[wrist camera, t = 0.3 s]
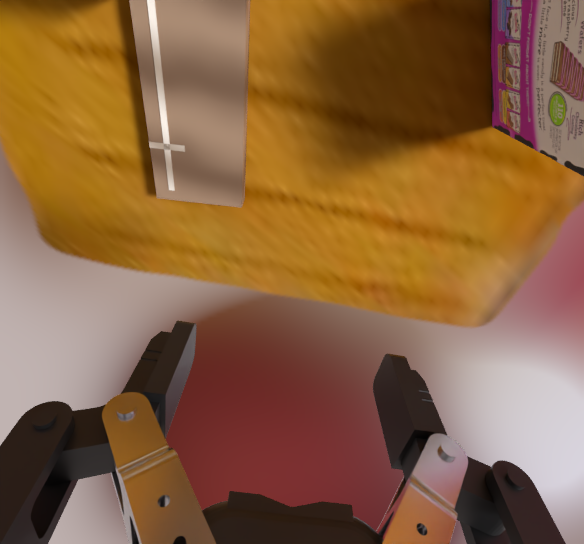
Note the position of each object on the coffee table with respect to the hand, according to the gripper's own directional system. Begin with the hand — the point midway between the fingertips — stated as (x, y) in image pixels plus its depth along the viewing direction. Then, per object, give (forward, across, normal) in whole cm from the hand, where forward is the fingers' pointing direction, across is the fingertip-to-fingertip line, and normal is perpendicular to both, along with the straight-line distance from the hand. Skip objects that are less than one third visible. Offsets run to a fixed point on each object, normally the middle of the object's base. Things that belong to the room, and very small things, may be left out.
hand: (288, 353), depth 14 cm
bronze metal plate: (+21, +10, -9) cm, 25 cm away
